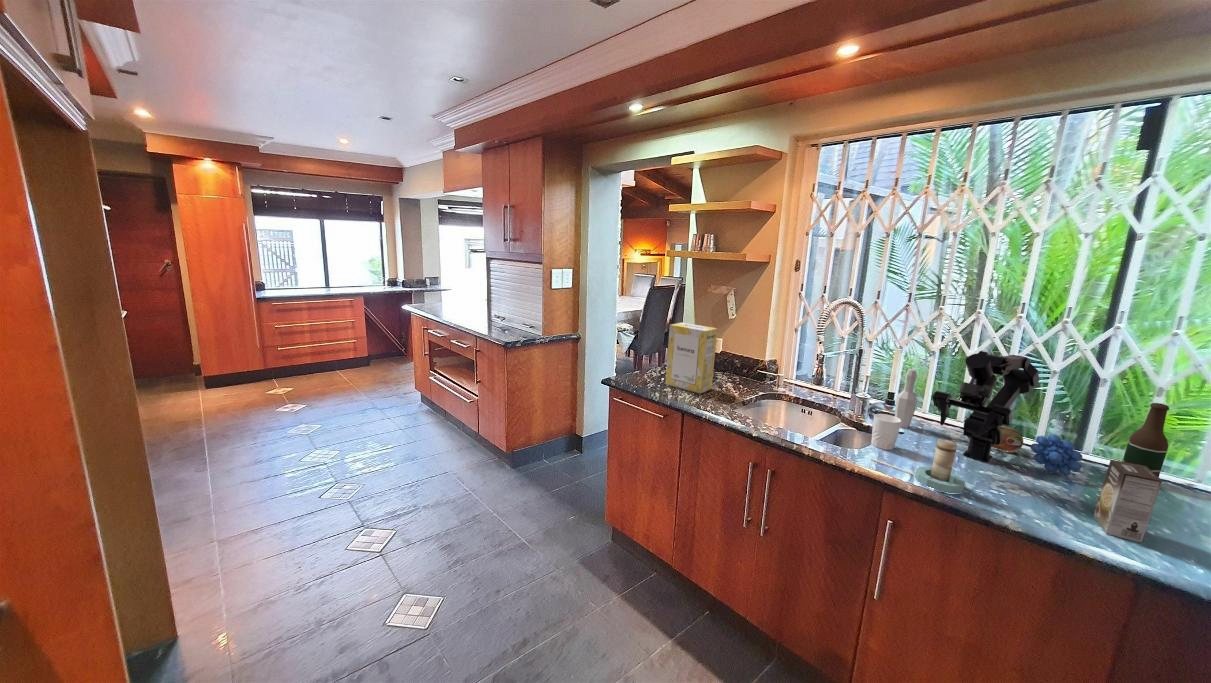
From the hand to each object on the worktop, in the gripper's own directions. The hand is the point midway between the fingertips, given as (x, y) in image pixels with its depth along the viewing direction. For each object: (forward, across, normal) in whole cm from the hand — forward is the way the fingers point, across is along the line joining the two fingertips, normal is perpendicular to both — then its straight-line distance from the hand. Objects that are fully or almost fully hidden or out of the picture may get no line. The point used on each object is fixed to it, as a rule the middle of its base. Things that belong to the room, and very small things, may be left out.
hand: (959, 430), depth 135 cm
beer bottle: (-23, +34, +42) cm, 59 cm away
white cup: (+8, -20, +11) cm, 24 cm away
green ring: (+18, +1, +1) cm, 18 cm away
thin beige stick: (+18, -11, +1) cm, 21 cm away
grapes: (-10, +18, +29) cm, 35 cm away
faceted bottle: (-11, -24, +30) cm, 41 cm away
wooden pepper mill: (+18, +1, +2) cm, 18 cm away
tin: (-15, +1, +35) cm, 38 cm away
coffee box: (+9, +34, +11) cm, 37 cm away
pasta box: (+15, -100, +4) cm, 101 cm away
